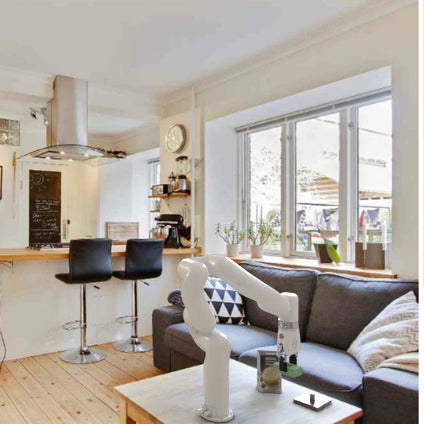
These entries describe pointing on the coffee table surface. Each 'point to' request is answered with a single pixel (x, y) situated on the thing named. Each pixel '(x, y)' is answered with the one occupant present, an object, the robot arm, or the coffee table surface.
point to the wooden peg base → (312, 401)
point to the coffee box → (268, 372)
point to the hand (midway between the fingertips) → (288, 368)
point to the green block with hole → (289, 369)
